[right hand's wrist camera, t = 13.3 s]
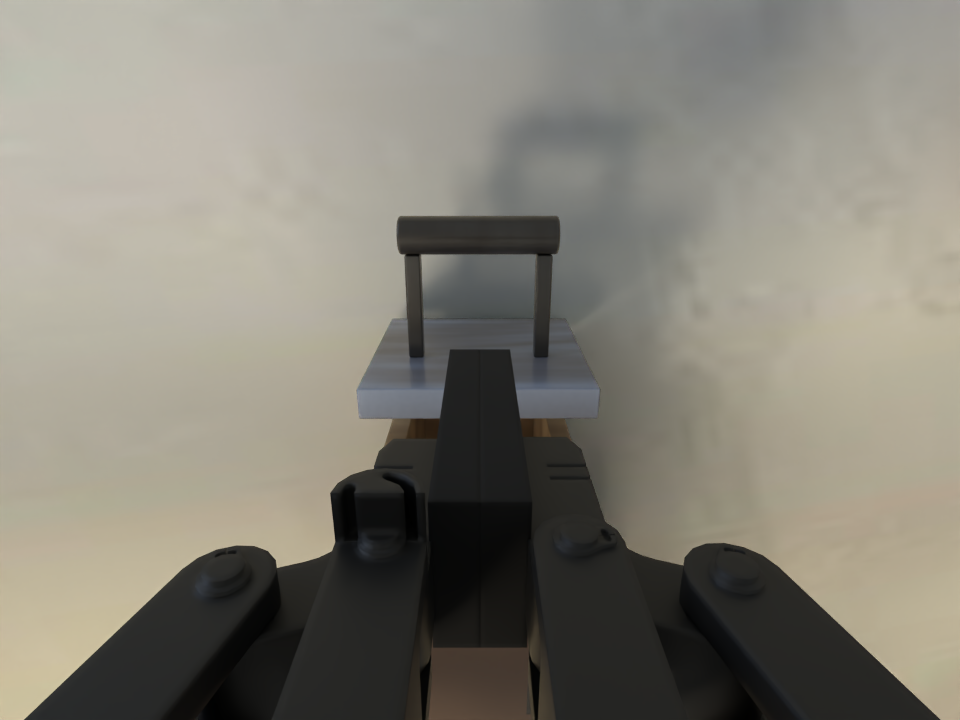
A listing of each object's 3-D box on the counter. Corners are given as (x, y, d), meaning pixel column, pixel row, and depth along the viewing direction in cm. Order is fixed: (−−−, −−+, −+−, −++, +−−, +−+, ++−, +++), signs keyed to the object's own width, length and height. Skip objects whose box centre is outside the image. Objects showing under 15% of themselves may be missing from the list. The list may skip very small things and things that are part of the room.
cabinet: (392, 461, 33) (353, 602, 23) (566, 461, 33) (604, 602, 23) (407, 713, 40) (383, 908, 30) (551, 713, 40) (576, 907, 30)
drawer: (385, 202, 27) (343, 228, 19) (571, 202, 27) (613, 228, 19) (408, 610, 36) (386, 755, 27) (550, 610, 36) (572, 754, 27)
